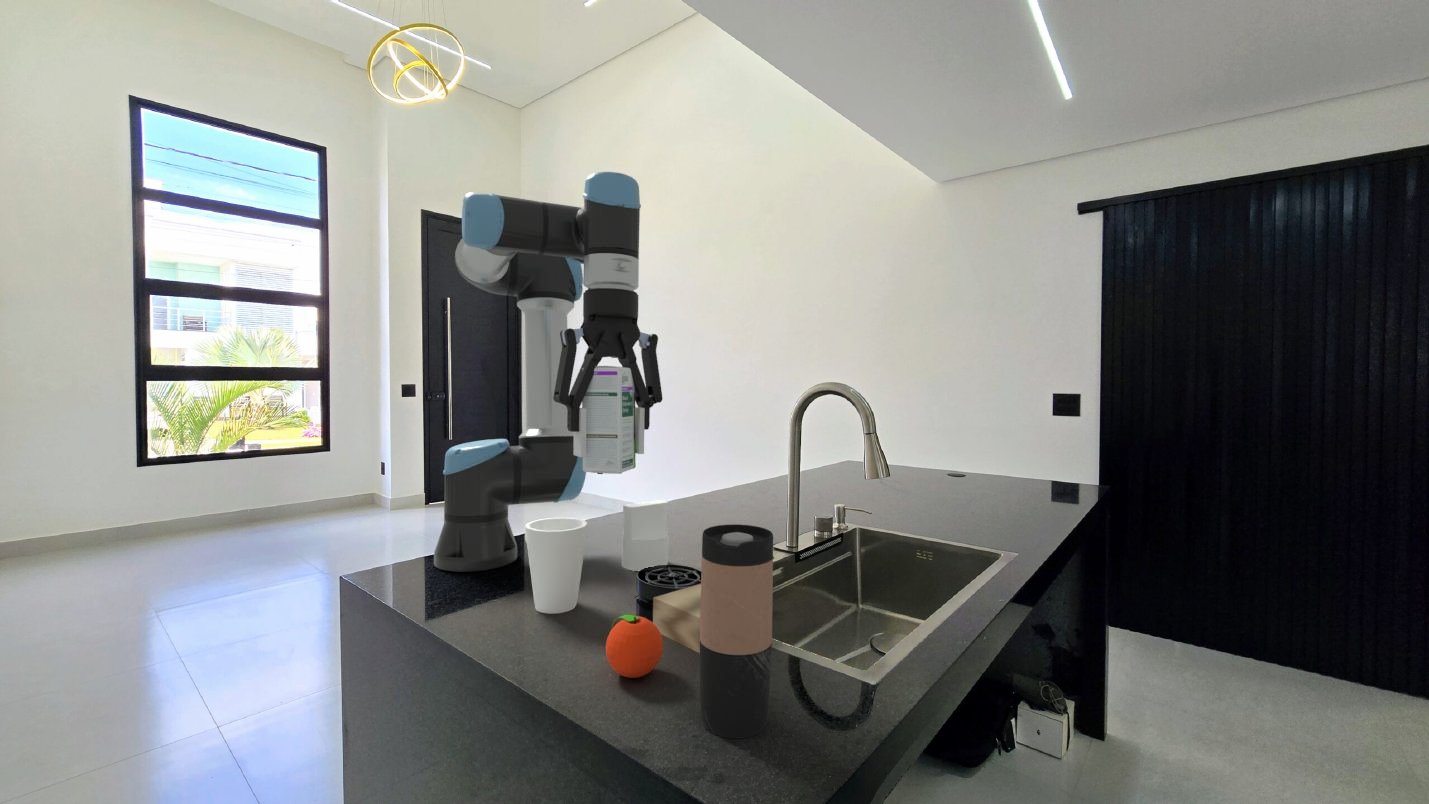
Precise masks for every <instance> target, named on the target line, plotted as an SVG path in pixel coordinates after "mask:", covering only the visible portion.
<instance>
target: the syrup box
mask: <svg viewBox="0 0 1429 804" xmlns="http://www.w3.org/2000/svg"><path fill="white" fill-rule="evenodd" d="M583 370H584V368H583V369H582V371H583ZM581 405H582V406H581V408H586V457H583V471H584V472H586V473H590V474H591V473H594V474H608V475H609V474H611V475H612V474H614V475H618V474H619V475H620V474H623V473H624V472H627V471H630V470H634V469H635V468H636V453H635V407H636V401H635V386H634V382H633V377H632V373H631V369H630V368H627V367H622V366H613V365H597V366H596V368H595V369H594V375H593V377H592V380H591V382H590V384H589V387H588V389H587V391H586V394H585V396H584V398H583V401H582V403H581Z"/></svg>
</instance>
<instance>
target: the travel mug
mask: <svg viewBox="0 0 1429 804" xmlns="http://www.w3.org/2000/svg"><path fill="white" fill-rule="evenodd" d="M701 536H702V538H701V539H702V541H701V542H702V543H701V545H702V546H701V573H700V574H701V576H700V578H701V579H700V584H701V607H700V653H699V680H700V681H699V682H700V683H699V686H700V687H699V690H700V691H699V692H700V693H699V695H700V696H699V697H700V700H699V701H700V720H701V722H702V726H703V727H704V728H705V729H706V730H708V731H709V732H710V733H712V734H714V735H716V736H719V737H723V738H728V739H745V738H750V737H754V736H756V735H758V734H759V733H760V734H761V732H762V731H763V730H765V728H766V727H767V724H768V720H769V719H768V718H769V706H770V705H769V704H770V687H771V686H770V685H771V670H772V669H771V667H772V666H771V665H772V649H773V647H772V645H773V601H774V599H773V596H774V595H773V591H774V588H773V585H774V583H773V582H774V581H773V580H774V579H773V578H774V577H773V576H774V574H773V573H774V534H773V532H772V531H771V530H770V529H767V528H764V527H761V526H757V525H749V524H736V523H735V524H734V523H733V524H719V525H713V526H709V527H708V528H705V529H704V530H703V531H702V535H701Z"/></svg>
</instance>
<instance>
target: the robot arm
mask: <svg viewBox="0 0 1429 804" xmlns="http://www.w3.org/2000/svg"><path fill="white" fill-rule="evenodd" d="M582 198H583V204H584V205H583V207H581V206H573V205H566V204H558V203H554V202H553V203H551V202H544V201H538V200H532V199H525V198H518V197H512V196H505V195H499V194H495V193H494V192H488V193H485V192H484V193H483V192H482V193H481V192H467V193H466V194H464V197H463V199H462V208H461V209H462V210H461V237H462V238H461V239H460V241H459V242H458V244H457V246H456V248H455V252H454V262H455V266H456V268H457V270H458V272H459V274H460V276H461V277H462V278H464V279H465V281H467V282H468V283H470V284H472V285H473V286H474V287H476V288H478V289H481V290H483V291H485V292H488V293H490V294H494V295H500V296H509V297H516V307H517V308H518V309H519V310H521V312H522V313H523V314H524V334H525V335H524V339H525V340H524V341H525V342H524V344H525V345H524V346H525V347H524V349H525V350H524V351H525V402H526V403H525V406H526V409H525V411H526V414H525V415H526V422H525V425H526V426H525V427H526V428H525V430H524V431H523V432H522V433H521V434H520V435H519V436H518V445H510V442H509V440H508V439H507V438H495V439H493V438H491V439H484V440H483V439H482V440H475V441H469V442H465V443H461V444H457V445H454V446H451V447H450V448H449V449H447V451H446V452H445V455H444V469H443V471H442V474H443V475H444V500H443V501H444V503H443V505H444V506H443V507H444V508H443V511H444V513H443V515H444V516H443V525H442V529H441V531H440V535H439V537H438V541H437V543H436V545H435V549H434V551H433V566H434V567H435V568H437V569H438V570H441V571H442V570H443V571H449V572H458V573H459V572H460V573H461V572H462V573H463V572H464V573H465V572H466V573H467V572H480V571H487V570H494V569H497V568H501V567H504V566H507V565H510V564H511V563H513V562H515V561H516V560H517V558H518V545H517V541H516V538H515V536H514V533H513V529H512V527H511V523H510V522H509V506H512V505H526V504H527V505H528V504H541V503H543V504H544V503H559V502H564V501H571V500H572V501H573V500H575V499H576V498H578V496H579V495H580V494H581V492H582V491H583V488H584V484H585V480H586V477H587V476H586V475H587V472H584V471H583V457H586V408H582V407H581V405H582V401H583V398H584V396H585V394H586V391H587V389H588V387H589V384H590V382H591V380H592V377H593V375H594V369H595V368H596V366H599V364H600V362H601V361H602V359H603V358H612V359H614V358H615V359H617V360H618V362H619V364H620V365H621V367H627V368H630V369H631V373H632V377H633V382H634V386H635V405H636V406H635V454H638V455H645V430H647V431H648V430H649V429H650V424H651V423H650V413H651V411H650V410H651V408H653V407H654V405H655V404H657V403H661V402H662V401H663V392H662V385H661V384H662V383H661V377H660V370H659V361H658V356H657V346H658V343H659V342H658V341H659V337H658V335H657V334H656V333H651V334H648V333H645V332H641V330H640V327H639V326H638V320H639V319H638V318H639V294H638V292H636V291H635V290H637V289H638V288H639V277H640V276H639V275H640V274H639V273H640V272H639V266H640V263H639V262H640V257H639V256H640V217H641V216H640V215H641V214H640V213H641V208H642V207H641V206H642V205H641V201H640V200H641V199H640V198H641V197H640V185H639V184H638V181H637V180H636V179H635V178H633V176H631V175H628V174H625V173H622V172H621V173H620V172H615V171H598V172H595V173H592V174H590V175H588V176H587V177H586V178H585V181H584V191H583V194H582ZM582 265H583V267H582ZM583 286H584V287H585V288H587V289H586V290H584V291H583V289H584V288H583ZM582 294H583V299H582V301H583V302H582V303H583V305H582V306H583V307H582V314H583V315H582V317H583V321H582V324H581V325H580V328H574V329H573V328H570V327H569V328H568V314H569V313H571V311H572V310H573V309H574V308H575V302H578V301H579V300H580V299H581V298H582ZM581 338H582V340H584V342H585V344H586V345H587V349H586V351H585V354H584V356H583V362H582V364H581V367H580V368H579V370H578V373H577V375H576V378H575V381H574V383H573V385H572V386H571V384H572V378H573V373H574V367H575V361H576V356H577V355H576V354H577V350H578V349H577V347H578V346H577V345H579V343H580V341H581ZM637 342H638V346H639V347H640V349H641V351H640V353H641V360H642V369H643V375H644V376H642V373H641V371H640V368H639V365H638V363H637V356H636V353H635V351H634V348H633V347H635V345H636V343H637ZM583 368H584V370H583V371H582V369H583ZM643 377H644V379H643ZM570 389H571V390H570Z"/></svg>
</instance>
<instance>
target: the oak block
mask: <svg viewBox="0 0 1429 804" xmlns="http://www.w3.org/2000/svg"><path fill="white" fill-rule="evenodd" d="M652 598H653V599H652V601H653V602H652V605H653V606H652V622H653V623H654V624H655V626H656V627H657V628H658V629H659V631H660V634H661V636H664V637H665V638H668V639H670V640H672V641H674V642H676V643H678V644H679V645H682V646H684V647H686V648H687V649H688V648H689V649H690V650H692V651H694V652H696V653H698V654H700V607H701V583H698V584H694V585H692V586H688V587H685V588H682V589H678V590H675V591H671V592H668V593H664V594H660V595H658V596H654V597H652Z"/></svg>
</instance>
